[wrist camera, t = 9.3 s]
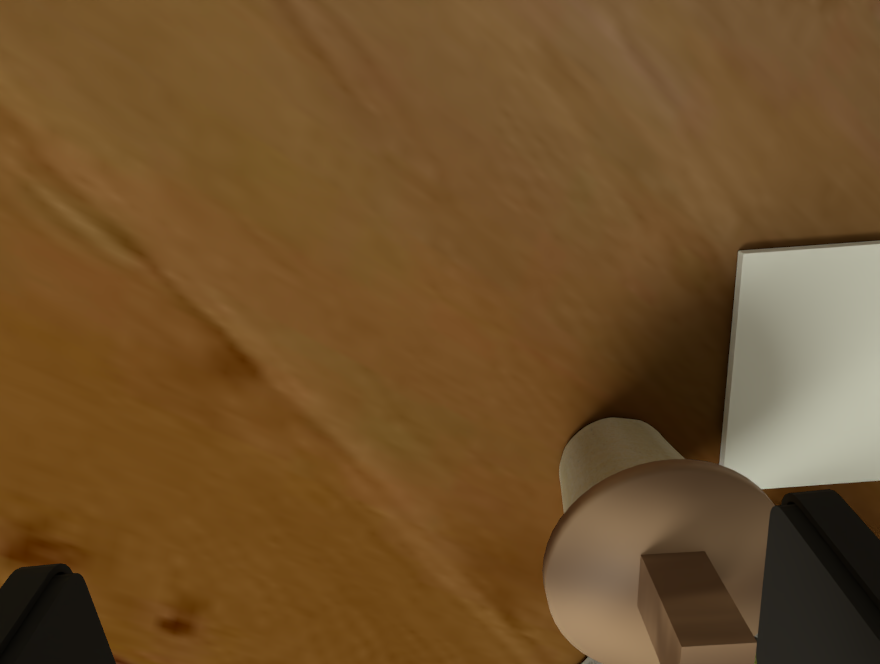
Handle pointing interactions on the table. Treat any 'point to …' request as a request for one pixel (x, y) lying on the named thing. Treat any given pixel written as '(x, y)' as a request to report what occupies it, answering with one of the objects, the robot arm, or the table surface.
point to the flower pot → (608, 453)
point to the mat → (805, 366)
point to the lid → (661, 566)
